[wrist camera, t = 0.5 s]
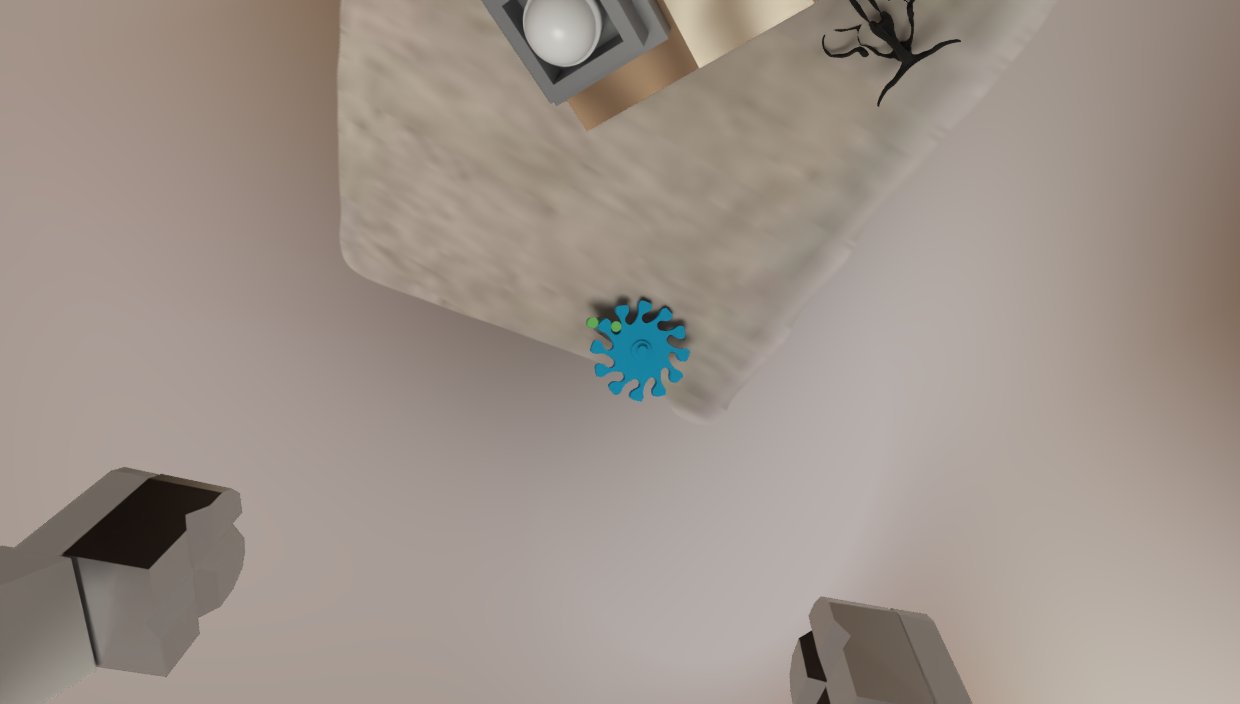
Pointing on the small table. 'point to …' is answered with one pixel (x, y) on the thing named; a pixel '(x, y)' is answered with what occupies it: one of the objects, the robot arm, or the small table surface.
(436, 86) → the small table surface
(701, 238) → the small table surface
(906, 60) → the creature
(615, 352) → the blue lobed plastic figure
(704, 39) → the board
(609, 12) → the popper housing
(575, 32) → the dome
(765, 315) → the small table surface
